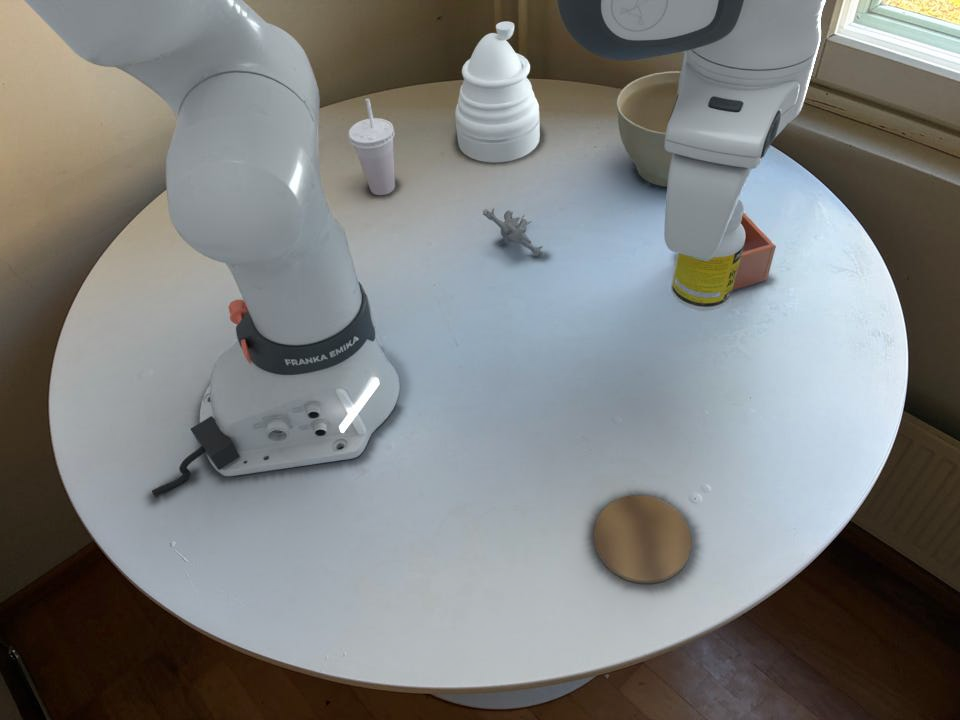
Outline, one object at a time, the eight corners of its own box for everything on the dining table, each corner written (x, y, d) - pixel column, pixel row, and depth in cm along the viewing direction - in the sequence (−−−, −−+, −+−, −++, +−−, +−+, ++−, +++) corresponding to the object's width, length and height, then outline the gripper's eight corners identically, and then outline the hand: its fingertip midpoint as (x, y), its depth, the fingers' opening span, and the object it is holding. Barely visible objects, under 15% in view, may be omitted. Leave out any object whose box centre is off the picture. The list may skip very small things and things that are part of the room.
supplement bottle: (731, 315, 68) (754, 228, 61) (669, 310, 69) (684, 223, 62) (730, 275, 72) (751, 188, 64) (671, 270, 73) (685, 184, 65)
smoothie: (412, 181, 114) (397, 95, 104) (386, 205, 111) (368, 118, 100) (378, 170, 117) (361, 85, 106) (352, 193, 113) (331, 107, 103)
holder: (710, 297, 93) (716, 263, 89) (679, 258, 98) (684, 224, 94) (766, 280, 94) (776, 245, 90) (733, 242, 99) (741, 208, 95)
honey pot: (546, 119, 123) (544, 6, 109) (531, 165, 115) (528, 48, 101) (468, 114, 125) (458, 3, 112) (448, 159, 117) (434, 45, 104)
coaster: (618, 597, 69) (618, 594, 68) (579, 514, 75) (579, 511, 74) (708, 565, 70) (709, 562, 70) (662, 486, 76) (663, 483, 76)
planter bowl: (645, 127, 119) (651, 61, 111) (744, 156, 112) (759, 87, 104) (592, 181, 111) (594, 113, 103) (696, 216, 104) (707, 146, 96)
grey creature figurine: (554, 223, 105) (559, 245, 97) (526, 256, 107) (529, 280, 99) (497, 179, 102) (497, 197, 94) (470, 213, 105) (468, 234, 97)
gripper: (735, 11, 62) (708, 158, 72) (657, 143, 50) (638, 297, 60) (816, 22, 60) (776, 172, 70) (755, 163, 48) (718, 318, 58)
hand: (712, 231), depth 65 cm, fingers closed on supplement bottle, 5 cm apart
